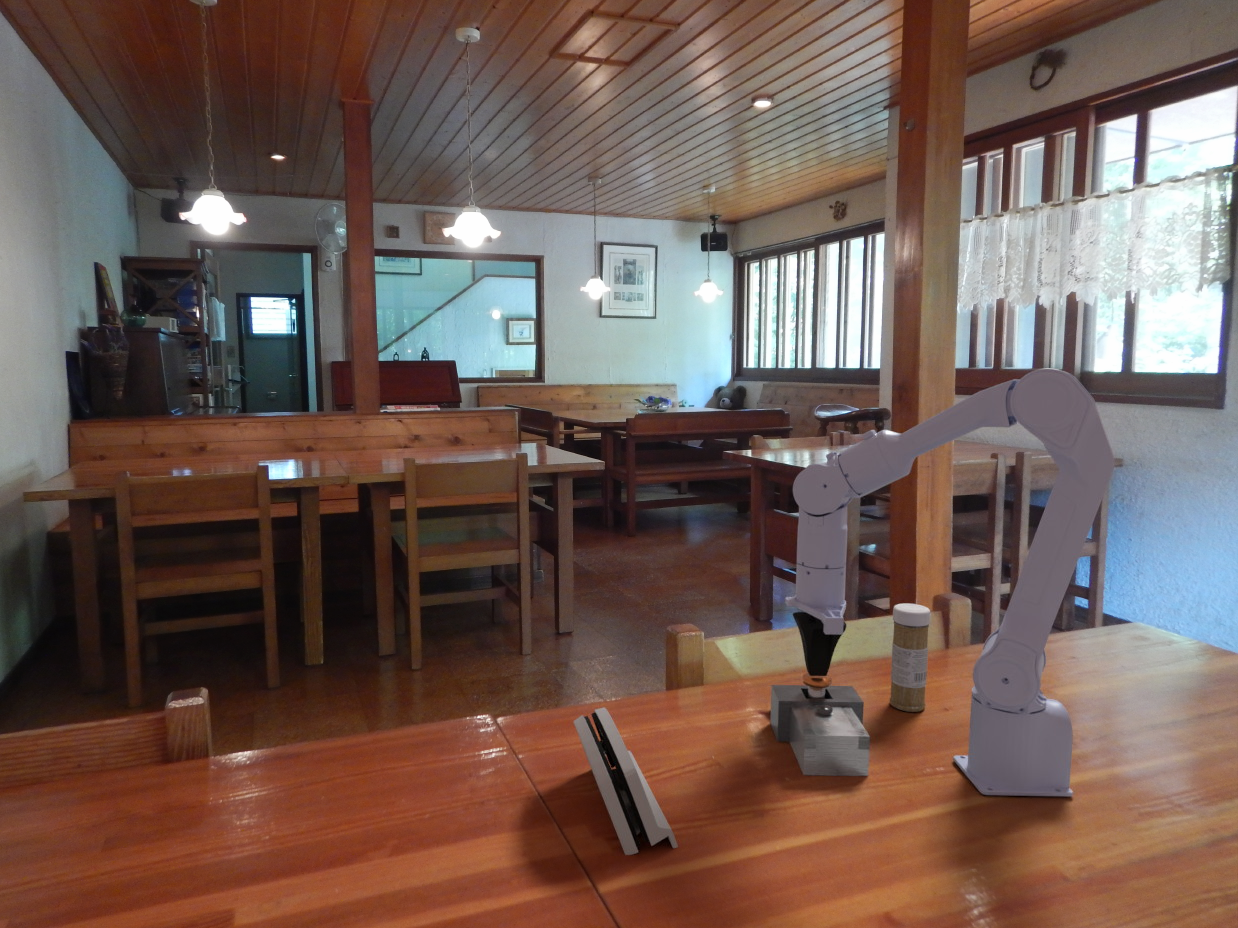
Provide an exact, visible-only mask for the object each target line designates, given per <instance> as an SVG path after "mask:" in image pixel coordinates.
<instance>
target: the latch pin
mask: <svg viewBox="0 0 1238 928" xmlns="http://www.w3.org/2000/svg"><path fill="white" fill-rule="evenodd" d="M832 681H833V678H832V677H831V676H830V675H828V674H827V676H810V675H809V673H808V672H807V673H804V674H803V675H802V683H803V685H807V686H808V699H825V688H826V687H829V686H832Z"/></svg>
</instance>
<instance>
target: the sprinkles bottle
mask: <svg viewBox="0 0 1238 928" xmlns="http://www.w3.org/2000/svg"><path fill="white" fill-rule="evenodd" d="M892 610H893V611H892V621H893V636H892V638H893V639H892V643H891V645H892V647H891V648H892V649H891V669H890V670H891V671H890V682H891V683H890V686H891V687H890V698H889V704H890V705H891V706H892V707H894V708H895V709H897V710H900V711H902V712H903V711H904V712H908V713H910V712H911V713H914V712H915V713H918V712H922V711H923V710H925V708H926V703H925V702H926V686H927V676H928V674H927V673H928V657H929V655H928V653H929V647H928V644H929V643H928V640H929V639H928V638H929V627H930V624H931V610H930V608H929V607H927V606H924V605H921V604H917V603H907V602H906V603H898V604H894V606H893V609H892Z"/></svg>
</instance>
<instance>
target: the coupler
mask: <svg viewBox="0 0 1238 928" xmlns="http://www.w3.org/2000/svg"><path fill="white" fill-rule="evenodd" d="M770 694H771V695H770V726H771V728H772V731H773V734H774V737H775V739H776V741H777V742H780V743H781V742H785V743H786V742H787V743H790V712H791V705H798V706H818V705H828V706H850V707H851V708H852V710H853V711H854V713H855V714H856V716H857V717H858V719H859V721H860V722H861V724H862V725H863V726H864V707H865V706H864V705H865V704H864V703H865V702H864V701H863V699H862V698H861V696H860V695H859V694H858V692H857V690H856V689H855V688H854V686H853V685H831V686H829V687H826V688H825V699H808V686H807V685H805V684H771V693H770Z"/></svg>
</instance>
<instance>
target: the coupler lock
mask: <svg viewBox="0 0 1238 928" xmlns="http://www.w3.org/2000/svg"><path fill="white" fill-rule="evenodd" d="M870 743H871V735H870V734H869V733H868V731H867V730H866V728H865V727H864V724H863V725H862V724H861V722H860V721H859V719H858V717H857V716H856V714H855V713H854V711H853V710H852V708H851V707H850V706H828V705H818V706H798V705H791V712H790V742H789V744H790V746H791V748H792V751H793V753H794V756H795V758H796V761H797V762H798V766H799V768H800V770H801V772H802V775H803V776H831V777H832V776H834V777H835V776H836V777H837V776H839V777H842V776H844V777H869V769H870V767H869V766H870V748H871V747H870V745H871V744H870Z"/></svg>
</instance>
